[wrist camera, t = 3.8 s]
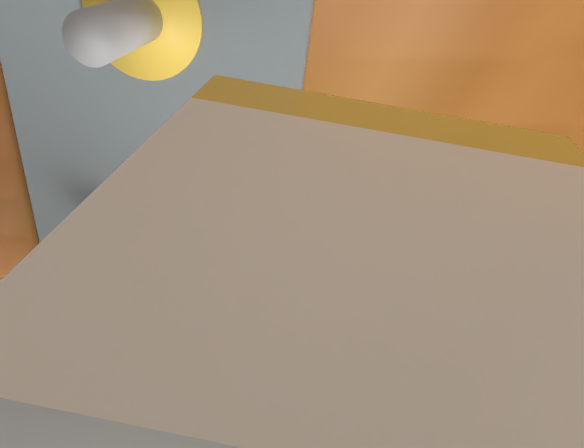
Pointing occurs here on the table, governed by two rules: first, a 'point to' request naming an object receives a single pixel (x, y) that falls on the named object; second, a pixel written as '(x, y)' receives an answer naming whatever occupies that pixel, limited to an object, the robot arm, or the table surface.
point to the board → (127, 77)
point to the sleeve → (307, 286)
